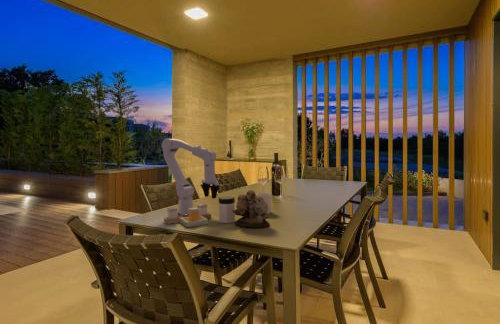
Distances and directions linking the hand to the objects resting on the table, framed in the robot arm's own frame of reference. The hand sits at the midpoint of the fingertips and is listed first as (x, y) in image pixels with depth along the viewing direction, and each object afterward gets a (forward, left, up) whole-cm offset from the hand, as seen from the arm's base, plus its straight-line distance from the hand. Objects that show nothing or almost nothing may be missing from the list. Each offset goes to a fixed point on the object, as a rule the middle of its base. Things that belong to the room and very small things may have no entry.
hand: (210, 197), depth 170 cm
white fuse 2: (+3, -6, -10) cm, 12 cm away
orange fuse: (+12, -14, -9) cm, 21 cm away
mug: (+10, +26, -10) cm, 30 cm away
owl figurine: (+31, +8, -10) cm, 34 cm away
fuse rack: (+3, -14, -10) cm, 17 cm away
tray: (+13, -14, -10) cm, 21 cm away
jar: (+17, +2, -10) cm, 20 cm away
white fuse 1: (+3, -22, -10) cm, 24 cm away
